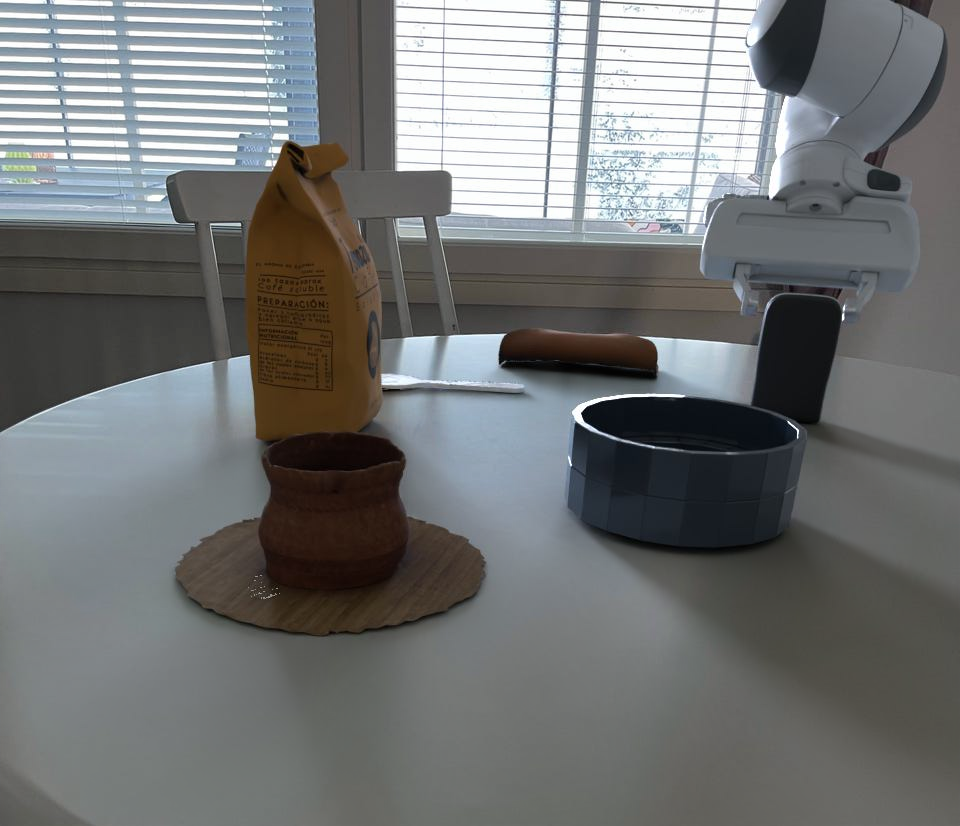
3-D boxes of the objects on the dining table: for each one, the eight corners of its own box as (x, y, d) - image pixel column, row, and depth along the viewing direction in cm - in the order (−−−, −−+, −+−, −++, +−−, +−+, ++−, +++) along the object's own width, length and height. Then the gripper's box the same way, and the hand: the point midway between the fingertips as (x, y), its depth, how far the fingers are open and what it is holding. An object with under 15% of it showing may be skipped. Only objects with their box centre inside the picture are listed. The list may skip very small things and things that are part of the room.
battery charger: (820, 416, 92) (846, 293, 86) (821, 425, 88) (848, 298, 83) (747, 408, 93) (768, 287, 88) (745, 417, 90) (767, 292, 85)
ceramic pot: (550, 574, 55) (559, 457, 52) (296, 671, 44) (288, 530, 40) (360, 494, 66) (358, 394, 63) (120, 556, 55) (102, 437, 52)
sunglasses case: (660, 361, 110) (665, 315, 105) (654, 404, 107) (658, 358, 101) (510, 350, 113) (507, 304, 108) (499, 390, 110) (495, 345, 104)
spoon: (523, 396, 94) (523, 391, 94) (345, 387, 94) (345, 381, 94) (524, 384, 98) (524, 379, 98) (354, 376, 99) (354, 370, 99)
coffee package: (401, 418, 85) (400, 144, 75) (352, 456, 74) (344, 142, 64) (298, 408, 87) (284, 139, 76) (237, 443, 76) (210, 136, 66)
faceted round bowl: (754, 483, 72) (770, 398, 69) (818, 560, 58) (840, 458, 55) (557, 476, 72) (564, 390, 68) (575, 551, 58) (584, 449, 55)
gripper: (710, 169, 93) (691, 285, 89) (930, 179, 88) (920, 302, 85) (705, 216, 98) (687, 327, 95) (911, 228, 94) (901, 344, 90)
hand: (799, 315), depth 89 cm, fingers open, 8 cm apart
